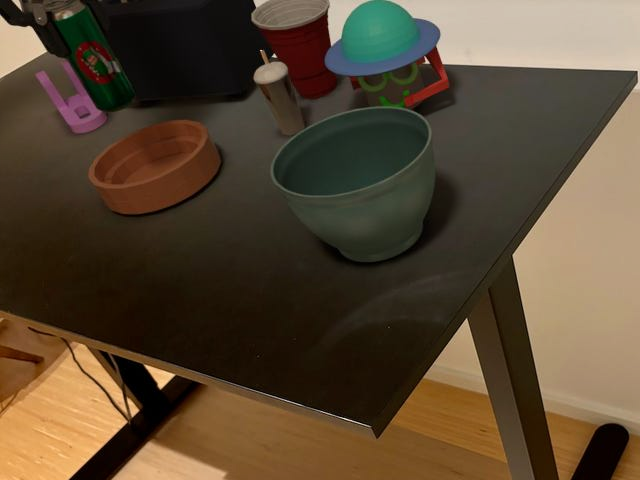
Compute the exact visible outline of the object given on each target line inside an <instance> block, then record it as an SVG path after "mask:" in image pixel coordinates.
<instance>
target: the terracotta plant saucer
mask: <svg viewBox="0 0 640 480" xmlns="http://www.w3.org/2000/svg"><path fill="white" fill-rule="evenodd" d="M213 140H214V139H213V138H212V137H211V134H210V133H209V131H208V128H207V127H206V126H204V125H203V124H202V123H200V122H199V121H195V120H191V119H190V120H189V119H172V120H168V121H164V122H163V121H162V122H158V123H154V124H151V125H147V126H146V127H143V128H140V129H137V130H135V131H132V132H131V133H129V134H127V135H124V136H123V137H121V138H119V139H118V140H116V141H115V142H113V143H112V144H111V145H110V144H109V146H107V147H106V148H105V149H103V150H102V152H101V153H99V154H98V155H97V156H96V157H94V160H93V162H92V163H91V165H90V166H89V168H88V176H87V177H88V180H89V182H91V184H92V186H93V188H94V189H95V191H96V192H97V194H98V195H99V196H100V198H101V199H102V201H103V202H104V204H105V205H106V206H107V207H108V209H109V210H110V211H111V212H112V211H113V212H115V213H119V214H121V215H141V214H147V213H152V212H157V211H160V210H163V209H167V208H170V207H173V206H175V205H177V204H179V203H181V202H183V201H185V200H187V199H188V198H190V197H191V196H193V195H195V194H197V192H199V191H200V190H201V189H202V188H203V187H205V186H207V184H209V183H210V182H211V180H212V179H213V178H214V176H216V175H217V173H218V171H219V168H220V167H221V166H220V165H221V163H222V160H221V155H220V152H219V149H218V148H217V146H216V144H215V143H214V141H213Z"/></svg>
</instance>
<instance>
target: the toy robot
mask: <svg viewBox="0 0 640 480" xmlns="http://www.w3.org/2000/svg"><path fill="white" fill-rule="evenodd" d="M440 40H441V29H440V28H439V27H438V26H437V25H436V24H435V23H434V22H432V21H431V20H427V19H423V18H416V17H413V15H411V14H410V13H409V11H407V9H405V8H404V7H403V6H401V5H400V4H398V3H396V2H393V1H391V0H368V1H365V2H363V3H361V4H359V5H358V6H356V7H355V8H354V9H353V10H352V11H351V12H350V13H349V14H348V17H347V18H346V19H345V21H344V24H343V27H342V32H341V37H340V38H339V39H337V41H335V42H334V43H333V44H331V47H330V49H329V50H328V52H327V54H326V56H325V65H326V67H327V68H328V69H329V70H331V71H332V72H334V73H335V74H336V75H339V76H344V77H348V78H349V82H350V84H351V87H352V89H353V91H355V90H358V89H361V88H362V89H363V90H364V94H365V97H366V99H367V103H368V107H377V106H378V107H380V106H388V107H399V108H404V109H409V110H411V111H414V108H416V107H418V106H419V105H420V104H421V103H423V101H424V100H425V99H427V98H429V97H431V96H433V95H435V94H438V93H439V92H440V93H441V92H443V91H444V90H446V89H448V88H451V87H450V83H449V78H448V76H447V73H446V70H445V67H444V64H443V61H442V58H441V56H440V53H439V50H438V46H437V45H438V43H439V41H440ZM426 60H427V61H426ZM426 62H428V63H429V65H430V66H431V68H432V70H433V71H434V73H435V75H436V76H437V77H438V79H439V80H437V81H436V82H434V83H432V84H430V85H428V86H427V87H425V86H424V82H423V78H422V73H421V70H420V66H421V65H422V64H423V65H424V64H425V63H426Z"/></svg>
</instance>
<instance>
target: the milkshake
mask: <svg viewBox="0 0 640 480" xmlns="http://www.w3.org/2000/svg"><path fill="white" fill-rule="evenodd" d="M261 54H262V56H263V59H264V61H265V65H263V66H261V67H259V68H258V69H257V70H256V72H255V74H254V78H253V81H254V83H255V84H256V86H257V88H258V91H259V92H260V93H261V95H262V98H263V99H264V101H265V103H266V104H267V107H268V108H269V110H270V112H271V114H272V116H273V118H274V120H275V122H276V123H277V125H278V128H279V130H280V132H281V133H282V135H284V136H288V137H289V136H295V135H296V134H297V133H299V132H300V131H302V130H304V129H305V128H306V125H305V122H304V119H303V116H302V113H301V110H300V107H299V104H298V100H297V97H296V93H295V90H294V89H295V88H294V85H293V84H292V82H291V78H290V75H289V71H288V68H287V66H286V65H285V64H284V63H282V62H279V61H271V62H269V61H268V59H267V57H266V54H265V52H264V50H261Z"/></svg>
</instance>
